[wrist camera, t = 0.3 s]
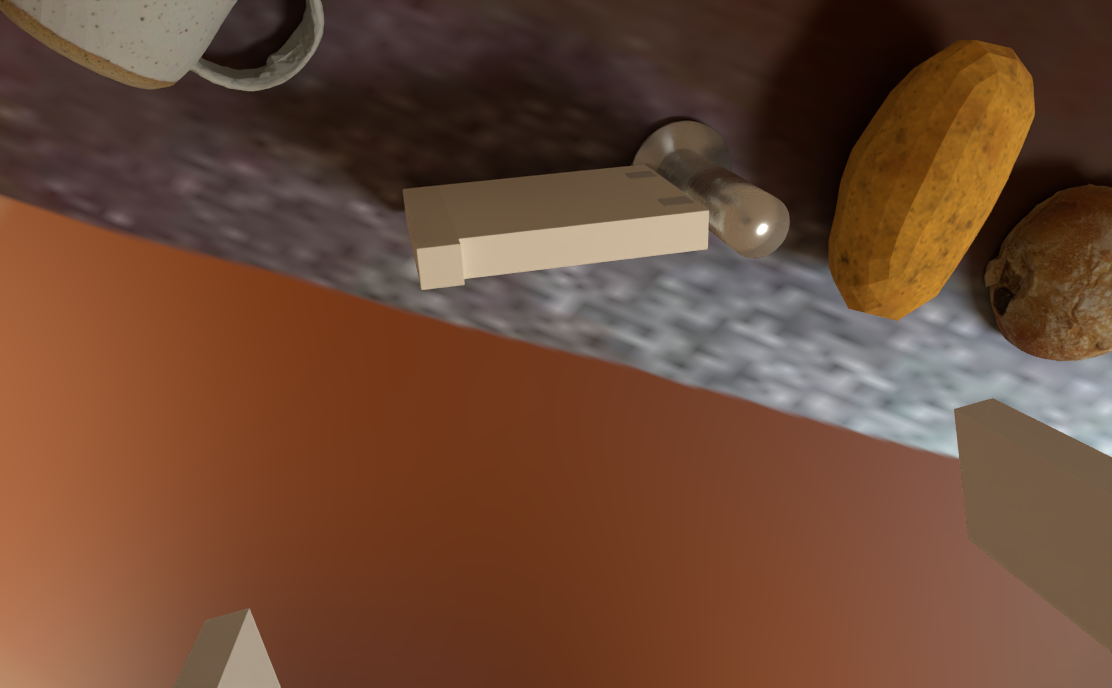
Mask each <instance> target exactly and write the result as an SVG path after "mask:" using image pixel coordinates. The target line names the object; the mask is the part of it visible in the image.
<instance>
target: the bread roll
mask: <svg viewBox="0 0 1112 688" xmlns="http://www.w3.org/2000/svg"><path fill="white" fill-rule="evenodd" d="M984 277H985V286H986V287H988V286H989V288H990V299H991V305H992V309H993V312H994V314H995V315H996V323H997V325H998V326H999V330H1000V331H1001V332H1002V335H1003V336H1004V337H1005V339H1006V340H1008V341H1009V342H1010V343H1011V344H1013V345H1014V346H1016V347H1017V348H1018V349H1020V350H1021V351H1023V352H1025V353H1027V354H1030V355H1033V356H1036V357H1039V358H1043V359H1050V360H1056V361H1077V360H1083V359H1088V358H1093V357H1096V356H1099V355H1102V354H1105V353H1108V352H1111V351H1112V187H1107V186H1095V185H1092V184H1088V185H1085V186H1079V187H1073V188H1069V189H1065V190H1062V191H1058V192H1056V193H1055V195H1054V196H1052V197H1051V198H1048V199H1047V200H1045V201H1043V202H1042V203H1040V204H1038V205H1036V206H1035V208H1034V209H1033V210H1032V211H1031V212H1030V213H1029V214H1028V215H1027V216H1026V217H1024V218H1023V219H1022V220H1021V221H1020V222H1019V223H1018V224H1017V225H1016V226H1015V227H1014V228H1013V229H1012V230H1011V231H1010V233H1009V234H1008V236H1007V237H1006V238H1005V240H1004V241H1003V243H1002V245H1001V248H1000V251H999V254H998V256H997V257H995V258H994V259H993V260H991V261H988V264H987V267H986V271H985V274H984Z"/></svg>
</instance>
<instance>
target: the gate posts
mask: <svg viewBox="0 0 1112 688" xmlns="http://www.w3.org/2000/svg"><path fill="white" fill-rule="evenodd" d="M644 164H645V165H646V166H648V167H649V168H650V169H652V170H653V171H655V172H656V173H657V174H659V175H660V176H662V177H663V178H664V179H666V180H667V181H669V182H670V183H671V184H673V185H674V186H676V187H677V188H678V189H680V190H681V191H683V192H684V193H685V194H687V195H688V196H690V197H691V198H692V199H694V200H695V201H697V202H698V203H699V204H701V205H702V206H704V207H705V208H706V209H708V210H709V225H708V230H709V231H710V232H711V233H713V234H714V235H715V236H717V237H718V238H719V239H721V240H722V241H723V242H724V243H726V244H727V245H728V246H730V247H731V248H732V249H733V250H735V251H736V252H737V253H739V254H740V255H742V256H744V257H747V258H761V257H764V256H767V255H769V254H771V253H772V252H774V251H775V250H776V249H777V248H778V247H779V246H780V245H781V244H782V243H783V241H784V239H785V238H786V236H787V233H788V230H789V225H790V217H789V213H788V210H787V208H786V206H785V205H784V203H783V202H782V201H780V200H779V199H777V198H776V197H774V196H772V195H771V194H769V193H767V192H765V191H764V190H762V189H760V188H758V187H757V186H755V185H753V184H751V183H750V182H748V181H746V180H744V179H743V178H741V177H739V176H737V175H736V174H734V173H732V172H731V159H730V154H729V151H728V148H727V146H726V144H725V142H724V141H723V139H722V138H721V136H720V135H719V134H718V133H717V132H716V131H714V130H713V129H712V128H710V127H708V126H706V125H704V124H702V123H699V122H696V121H691V120H679V121H674V122H670V123H667V124H665V125H663V126H661V127H659V128H657V129H656V130H654V131H653V132H652V133H650V134H649V135H648V136H647V137H646V138H645V139H644V140H643V142H642V143H641V144H640V146H639V147H638V149H637V151H636V152H635V154H634V157H633V159H632V162H631V166H634V165H644Z"/></svg>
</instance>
